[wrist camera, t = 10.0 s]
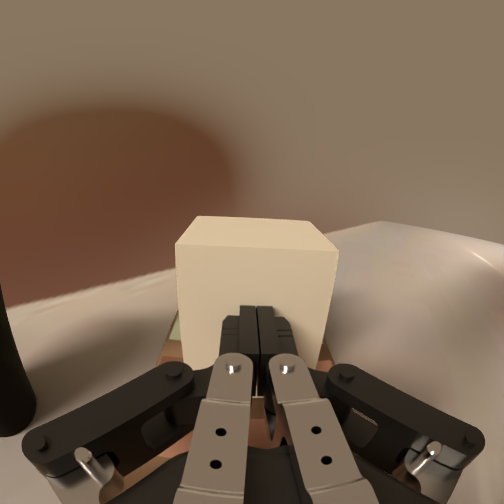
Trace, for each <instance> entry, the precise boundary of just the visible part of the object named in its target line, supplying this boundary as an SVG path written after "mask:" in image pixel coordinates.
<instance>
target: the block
mask: <svg viewBox="0 0 504 504" xmlns="http://www.w3.org/2000/svg"><path fill="white" fill-rule="evenodd" d="M175 255H176V256H175V257H176V278H177V295H178V309H179V321H180V332H181V342H182V352H183V361H184V363H186V364H187V365H189V366H190V367H191V368H192V370H200V369H205V368H208V367H210V366H212V365H213V364H214V362H215V360H216V359H217V358H218V356H219V347H220V338H221V330H222V321H223V320H224V319H225V318H226V317H227V316H228V315H236V316H239V310H240V305H252V306H256V307H257V306H273V311H274V316H275V317H285V319H286V320H287V321H288V322H289V323H290V325H291V329H292V333H293V337H294V340H295V344H296V348H297V352H298V355H299V357H300V358H302V359H303V360H304V361H305V363H306V365H307V367H309V368H311V369H314V370H315V369H316V365H317V361H318V357H319V353H320V349H321V344H322V340H323V335H324V331H325V326H326V322H327V317H328V312H329V307H330V302H331V297H332V291H333V286H334V280H335V275H336V269H337V263H338V256H339V250H338V249H337V248H336V247H335V246H334V245H333V244H332V243H331V242H330V241H329V240H328V239H327V238H326V237H325V236H324V235H323V234H322V233H321V232H320V231H319V230H317V228H316V227H315V226H314V225H313V224H311V223H310V222H309V221H297V220H281V219H261V218H240V217H239V218H238V217H214V216H213V217H212V216H197V217H196V219H195V220H194V221H193V222H192V224H191V225H190V226H189V227H188V228H187V230H186V231H185V232H184V233H183V235H182V236H181V237H180V239H179V240H178V241H177V242H176V244H175ZM252 398H263V396H257V385H256V395H255V396H252Z"/></svg>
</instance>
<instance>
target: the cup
mask: <svg viewBox="0 0 504 504" xmlns="http://www.w3.org/2000/svg"><path fill="white" fill-rule="evenodd" d="M36 405H37V403H36V397H35V394H34V392H33V389H32V387H31V385H30V382H29V380H28V378H27V375H26V373H25V370H24V367H23V365H22V362H21V359H20V356H19V354H18V351H17V348H16V345H15V341H14V338H13V335H12V331H11V328H10V324H9V321H8V317H7V313H6V309H5V305H4V301H3V295H2V291H1V285H0V437H9V436H12V435H15V434H17V433H19V432H21V431H22V430H23V429H25V428H26V427H27V426H28V425H29V423H30V422H31V420H32V419H33V417H34V414H35V412H36Z"/></svg>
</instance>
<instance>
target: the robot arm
mask: <svg viewBox="0 0 504 504" xmlns="http://www.w3.org/2000/svg"><path fill="white" fill-rule="evenodd" d="M256 385H257V396H263V398H264V405H263V415H264V421H265V426H266V432H267V437H268V442H269V449H262V448H256V447H251V446H248V433H249V419H250V408H251V405H252V396H255V395H256ZM352 408H354V409H356V410H358V411H359V412H361V413H363V414H364V415H366V416H368V417H369V418H371V419H373V420H374V421H375V422H376V423H377V425H378V426H376V425H374V424H373V423H371V422H369V421H368V420H366V419H364V418H363V417H361V416H359V415H358V414H356V413H354V412H353V411H351V410H352ZM192 430H194V432H193V436H192V440H191V444H190V448H189V451H187V452H184V453H181V454H179V455H176V456H174V457H172V458H171V459H169V460H168V461H166V462H165V463H163V464H162V465H161V466H159V467H158V468H157V469H155V470H154V471H153V472H151V473H150V474H148V475H147V476H146V477H144V478H143V479H141V480H140V481H139V482H137V483H136V484H134V485H133V486H131V487H130V488H128V489H127V490H125V491H124V492H122V493H121V494H119V493H120V492H121V491H122V489H123V487H124V479H123V477H125V476H126V475H128V474H130V473H131V472H133V471H134V470H136V469H138V468H139V467H141V466H142V465H144V464H145V463H147V462H148V461H150V460H151V459H153V458H154V457H156V456H157V455H159V454H160V453H162V452H163V451H165V450H166V449H168V448H169V447H170V446H172V445H173V444H175V443H176V442H177V441H179V440H180V439H182V438H183V437H184V436H186V435H187V434H188V433H190V432H191V431H192ZM484 446H485V438H484V435H483V433H482V432H481V431H480V430H479V429H478V428H476V427H474V426H472V425H470V424H467V423H465V422H463V421H461V420H459V419H457V418H455V417H452V416H450V415H448V414H446V413H444V412H442V411H440V410H438V409H436V408H434V407H432V406H430V405H428V404H426V403H424V402H422V401H420V400H418V399H416V398H414V397H412V396H410V395H408V394H406V393H404V392H402V391H400V390H398V389H396V388H395V387H393V386H391V385H389V384H387V383H385V382H383V381H381V380H379V379H378V378H376V377H374V376H372V375H370V374H368V373H367V372H365V371H363V370H361V369H359V368H358V367H356V366H353V365H350V364H337V365H334V366H332V367H331V368H330V369H329V371H328V372H324V371H318V370H314V369H311V368H309V367H307V365H306V363H305V361H304V360H303V359H302V358H300V357H299V355H298V352H297V348H296V344H295V340H294V337H293V333H292V329H291V325H290V323H289V322H288V321H287V320H286V319H285V317H275V316H274V311H273V306H257V307H256V306H252V305H240V310H239V316H236V315H228V316H227V317H226V318H225V319H224V320H223V321H222V330H221V338H220V347H219V356H218V358H217V359H216V360H215V362H214V364H213V365H212V366H210V367H208V368H205V369H200V370H192V368H191V367H190V366H189V365H187V364H186V363H183V362H179V361H169V362H165V363H163V364H161V365H159V366H157V367H155V368H154V369H152V370H150V371H148V372H146V373H145V374H143V375H141V376H139V377H137V378H135V379H134V380H132V381H130V382H128V383H126V384H124V385H122V386H121V387H119V388H117V389H115V390H113V391H111V392H109V393H107V394H105V395H103V396H101V397H99V398H97V399H95V400H93V401H91V402H89V403H87V404H85V405H83V406H81V407H79V408H77V409H75V410H73V411H71V412H69V413H67V414H65V415H63V416H61V417H59V418H56V419H54V420H52V421H50V422H48V423H46V424H43V425H41V426H39V427H37V428H34V429H32V430H30V431H29V432H27V433H26V435H25V436H24V438H23V440H22V451H23V453H24V455H25V457H26V458H27V459H28V460H29V461H30V462H31V463H32V464H33V465H34V466H35V467H36V469H37V470H38V471H39V472H40V473H41V474H42V475H43V476H44V477H45V478H46V479H47V480H48V482H49V483H50V485H51V487H52V488H53V490H54V492H55V493H56V495H57V496H58V498H59V500H60V501H61V503H62V504H446V503H447V501H448V499H449V498H450V496H451V494H452V492H453V490H454V488H455V486H456V484H457V482H458V479H459V477H460V475H461V473H462V471H463V469H464V468H465V467H466V466H467V465H469V464H470V463H471V462H472V461H473V460H474V459H475V458H476V457H477V456H478V455H479V454H480V452H481V451H482V450H483V448H484ZM351 451H352V452H351ZM379 468H380V469H379ZM384 471H385V472H384ZM386 472H387V473H388V474H387V473H386ZM389 474H390V475H389ZM391 475H392V476H391ZM118 494H119V495H118ZM117 495H118V496H117Z"/></svg>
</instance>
